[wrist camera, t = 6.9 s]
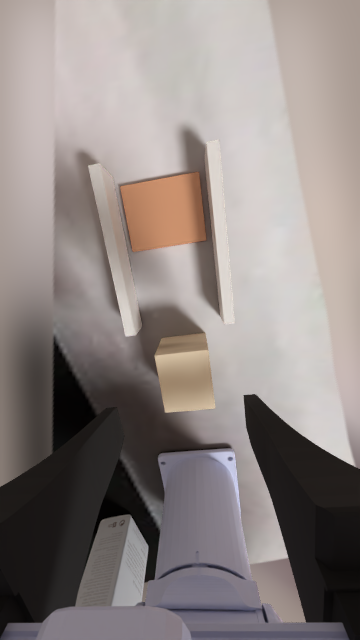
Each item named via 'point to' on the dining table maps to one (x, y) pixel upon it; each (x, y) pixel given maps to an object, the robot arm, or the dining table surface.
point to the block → (185, 373)
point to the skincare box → (114, 565)
